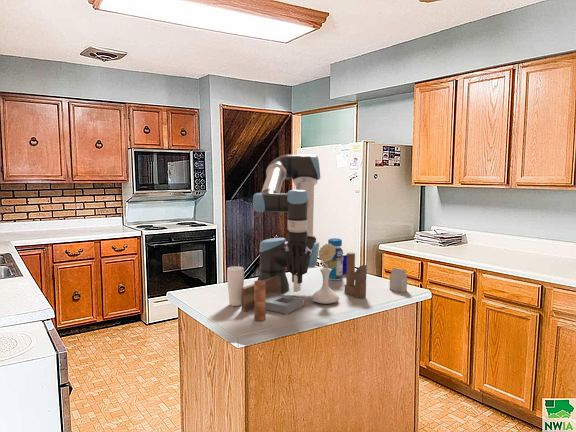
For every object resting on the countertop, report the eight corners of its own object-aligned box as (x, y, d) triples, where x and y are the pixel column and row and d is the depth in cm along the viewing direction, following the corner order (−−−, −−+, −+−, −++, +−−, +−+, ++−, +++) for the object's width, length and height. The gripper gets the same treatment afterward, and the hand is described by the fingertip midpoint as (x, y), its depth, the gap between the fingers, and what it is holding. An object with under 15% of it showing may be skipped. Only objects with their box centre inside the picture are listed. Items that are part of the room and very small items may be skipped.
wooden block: (359, 298, 190) (360, 256, 188) (344, 292, 199) (344, 252, 197) (366, 297, 191) (367, 256, 190) (350, 291, 201) (351, 252, 199)
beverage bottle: (324, 276, 228) (325, 238, 226) (340, 276, 229) (341, 237, 227) (327, 280, 219) (328, 240, 217) (344, 280, 220) (345, 240, 218)
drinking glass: (228, 301, 184) (228, 266, 183) (245, 302, 184) (245, 266, 182) (226, 306, 177) (225, 269, 176) (243, 307, 177) (242, 270, 176)
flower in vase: (306, 299, 187) (307, 241, 185) (330, 296, 192) (331, 239, 189) (321, 308, 176) (322, 245, 173) (346, 305, 180) (347, 244, 178)
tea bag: (401, 292, 199) (402, 270, 198) (389, 289, 205) (390, 267, 204) (406, 291, 201) (407, 269, 200) (394, 288, 207) (395, 266, 206)
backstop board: (241, 310, 173) (241, 287, 172) (276, 296, 193) (276, 275, 192) (245, 311, 171) (245, 288, 171) (280, 297, 191) (280, 276, 190)
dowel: (252, 319, 162) (252, 282, 161) (258, 316, 165) (258, 279, 164) (261, 322, 160) (261, 283, 158) (267, 318, 163) (267, 281, 162)
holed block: (255, 307, 176) (254, 299, 176) (272, 299, 186) (272, 292, 186) (286, 314, 168) (286, 306, 168) (303, 306, 178) (303, 298, 178)
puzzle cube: (332, 275, 232) (332, 256, 231) (323, 271, 241) (323, 253, 240) (348, 273, 236) (349, 254, 235) (339, 269, 245) (339, 251, 244)
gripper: (277, 230, 170) (277, 290, 173) (306, 233, 163) (306, 296, 166) (288, 228, 176) (288, 286, 179) (317, 230, 169) (316, 291, 172)
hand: (297, 290), depth 173 cm, fingers closed
